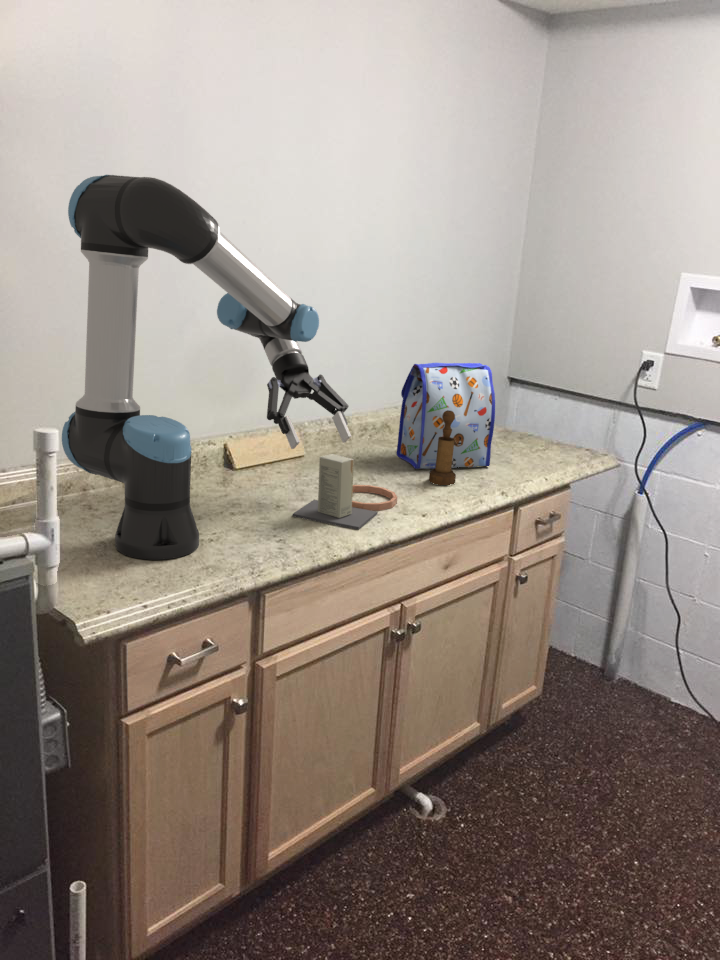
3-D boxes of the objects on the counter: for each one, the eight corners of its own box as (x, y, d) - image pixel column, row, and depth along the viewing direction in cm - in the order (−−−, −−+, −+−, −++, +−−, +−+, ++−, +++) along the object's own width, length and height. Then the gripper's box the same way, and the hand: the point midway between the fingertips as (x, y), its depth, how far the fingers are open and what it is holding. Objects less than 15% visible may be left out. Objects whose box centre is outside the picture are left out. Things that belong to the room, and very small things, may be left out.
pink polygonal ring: (384, 514, 181) (384, 508, 181) (326, 503, 186) (326, 496, 185) (403, 497, 193) (404, 491, 193) (349, 487, 198) (349, 481, 197)
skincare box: (352, 514, 178) (356, 459, 174) (339, 519, 175) (342, 462, 171) (329, 506, 182) (332, 452, 178) (315, 511, 178) (319, 455, 175)
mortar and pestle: (453, 487, 204) (461, 415, 199) (427, 484, 205) (434, 412, 200) (456, 480, 210) (463, 409, 205) (430, 476, 211) (437, 406, 206)
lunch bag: (462, 451, 237) (473, 357, 229) (494, 468, 223) (506, 368, 215) (390, 455, 228) (398, 357, 220) (418, 473, 214) (428, 368, 206)
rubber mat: (358, 529, 171) (359, 527, 171) (292, 516, 176) (292, 513, 176) (377, 514, 181) (377, 511, 181) (313, 502, 186) (314, 499, 186)
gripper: (324, 368, 197) (359, 445, 190) (231, 372, 182) (265, 457, 175) (339, 349, 192) (375, 428, 185) (245, 352, 176) (280, 438, 170)
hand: (322, 442), depth 180 cm, fingers open, 13 cm apart
